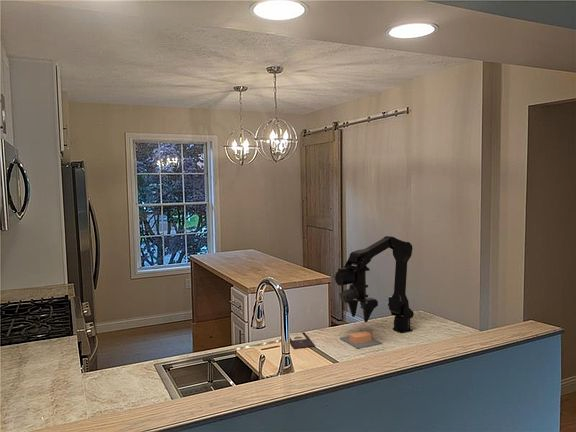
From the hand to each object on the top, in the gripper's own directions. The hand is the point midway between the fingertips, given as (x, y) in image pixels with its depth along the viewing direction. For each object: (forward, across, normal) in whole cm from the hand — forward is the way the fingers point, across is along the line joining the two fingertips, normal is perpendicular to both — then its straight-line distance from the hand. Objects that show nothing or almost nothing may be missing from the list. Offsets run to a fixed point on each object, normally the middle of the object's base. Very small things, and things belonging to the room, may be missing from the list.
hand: (359, 319), depth 186 cm
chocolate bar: (+10, -13, -22) cm, 27 cm away
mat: (+9, 0, 0) cm, 9 cm away
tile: (+9, 0, 0) cm, 9 cm away
